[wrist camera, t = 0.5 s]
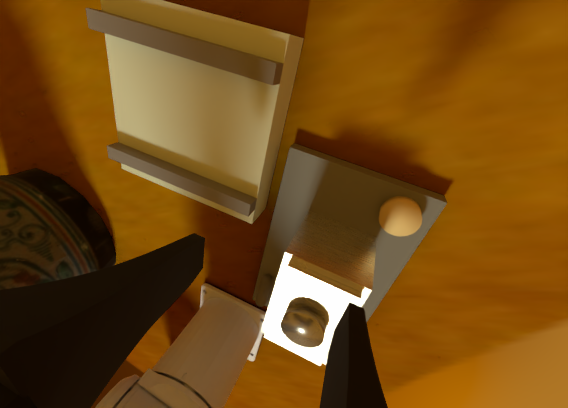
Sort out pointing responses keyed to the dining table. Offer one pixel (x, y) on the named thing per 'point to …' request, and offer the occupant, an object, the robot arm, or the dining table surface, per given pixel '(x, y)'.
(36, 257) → the beer stein
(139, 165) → the stand
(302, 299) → the housing
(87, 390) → the robot arm
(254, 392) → the dining table surface
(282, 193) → the mat
